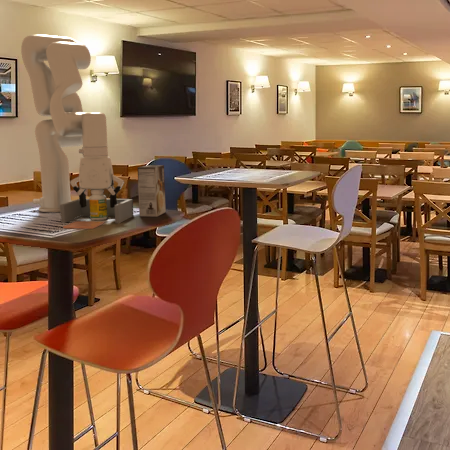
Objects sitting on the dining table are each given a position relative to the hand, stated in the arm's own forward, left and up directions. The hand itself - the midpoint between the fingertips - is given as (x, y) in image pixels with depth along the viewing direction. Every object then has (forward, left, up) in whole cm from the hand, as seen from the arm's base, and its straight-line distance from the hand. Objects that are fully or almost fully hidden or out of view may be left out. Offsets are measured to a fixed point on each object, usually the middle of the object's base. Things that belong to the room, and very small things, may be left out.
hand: (98, 207), depth 185 cm
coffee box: (+15, +10, -4) cm, 18 cm away
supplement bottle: (0, 0, -4) cm, 4 cm away
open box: (0, -1, -4) cm, 4 cm away
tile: (0, -13, -4) cm, 14 cm away
